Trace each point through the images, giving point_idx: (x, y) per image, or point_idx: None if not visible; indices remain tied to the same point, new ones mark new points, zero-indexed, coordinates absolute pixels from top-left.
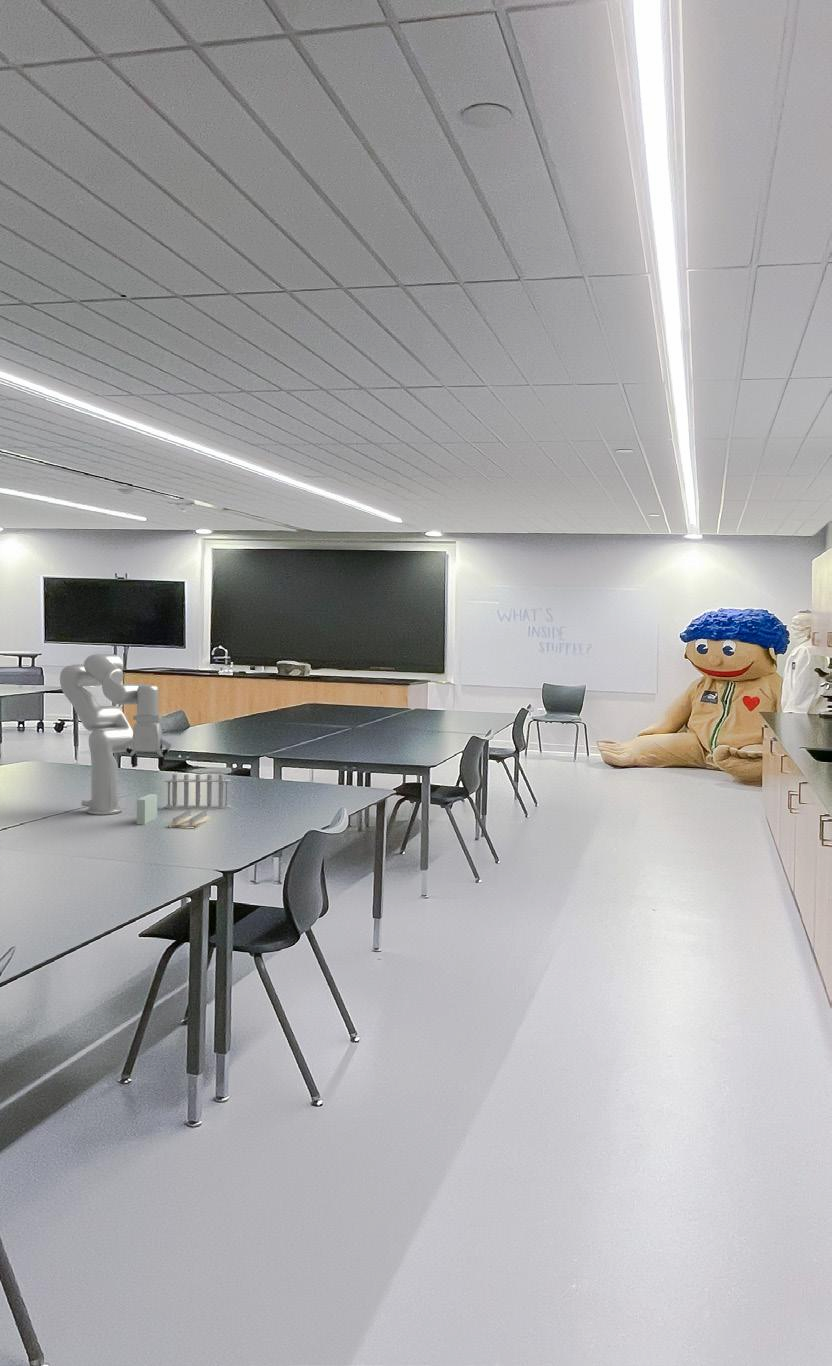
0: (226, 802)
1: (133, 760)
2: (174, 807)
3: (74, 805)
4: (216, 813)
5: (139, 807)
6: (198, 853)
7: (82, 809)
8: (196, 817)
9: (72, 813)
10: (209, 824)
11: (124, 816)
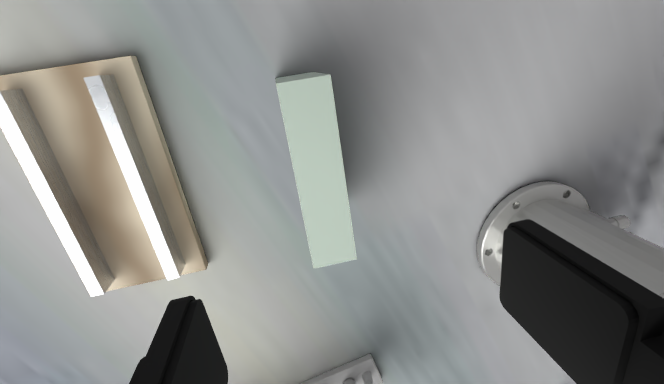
0: None
1: (579, 265)
2: (340, 370)
3: None
4: None
5: (307, 76)
6: None
7: None
8: (20, 160)
9: (621, 174)
10: (12, 194)
11: (436, 199)
